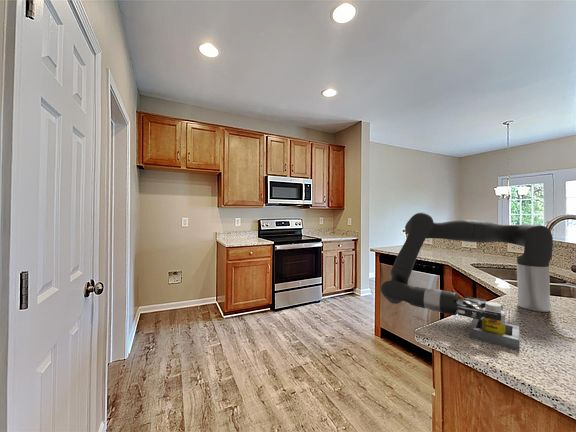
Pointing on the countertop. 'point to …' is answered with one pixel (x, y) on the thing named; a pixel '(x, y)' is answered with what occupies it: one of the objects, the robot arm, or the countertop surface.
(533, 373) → the countertop surface
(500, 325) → the supplement bottle
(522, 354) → the countertop surface
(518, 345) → the square grey bottle holder
